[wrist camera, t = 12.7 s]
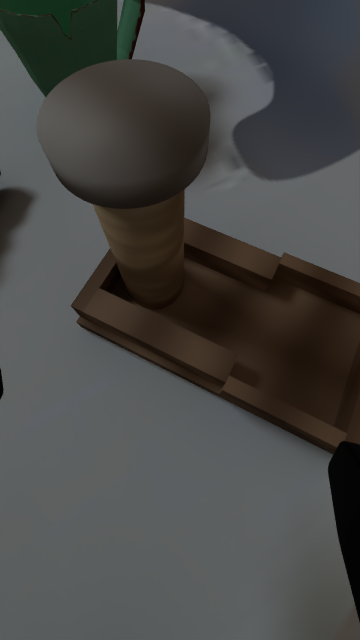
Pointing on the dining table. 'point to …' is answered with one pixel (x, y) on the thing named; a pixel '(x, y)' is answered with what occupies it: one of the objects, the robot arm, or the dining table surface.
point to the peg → (131, 162)
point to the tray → (246, 333)
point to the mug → (69, 35)
